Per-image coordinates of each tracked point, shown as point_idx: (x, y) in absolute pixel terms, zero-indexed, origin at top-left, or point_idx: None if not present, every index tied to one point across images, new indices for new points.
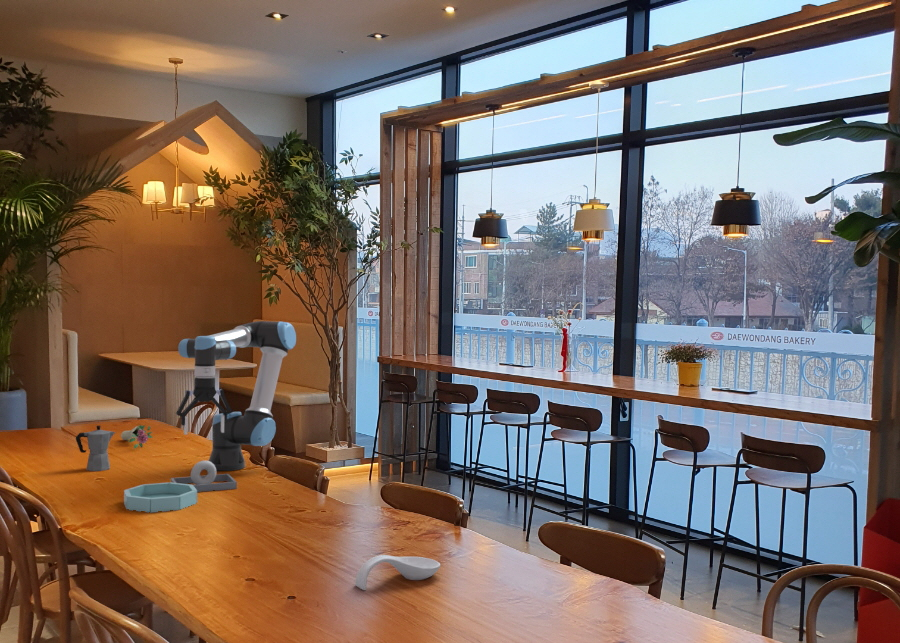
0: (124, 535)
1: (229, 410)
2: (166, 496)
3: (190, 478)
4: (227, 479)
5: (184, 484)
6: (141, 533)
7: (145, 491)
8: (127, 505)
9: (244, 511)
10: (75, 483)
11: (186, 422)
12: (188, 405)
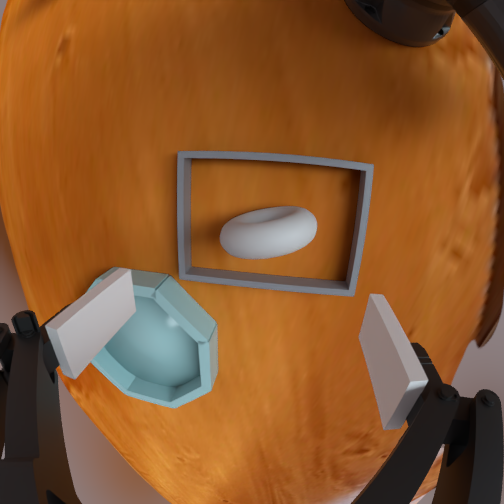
0: (121, 432)
1: (453, 453)
2: (156, 315)
3: (240, 158)
4: (361, 184)
5: (189, 329)
6: (137, 437)
7: None
8: None
9: (285, 436)
10: (28, 86)
11: (92, 353)
12: (7, 404)
